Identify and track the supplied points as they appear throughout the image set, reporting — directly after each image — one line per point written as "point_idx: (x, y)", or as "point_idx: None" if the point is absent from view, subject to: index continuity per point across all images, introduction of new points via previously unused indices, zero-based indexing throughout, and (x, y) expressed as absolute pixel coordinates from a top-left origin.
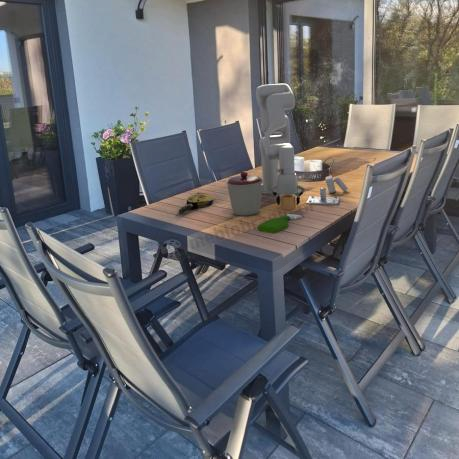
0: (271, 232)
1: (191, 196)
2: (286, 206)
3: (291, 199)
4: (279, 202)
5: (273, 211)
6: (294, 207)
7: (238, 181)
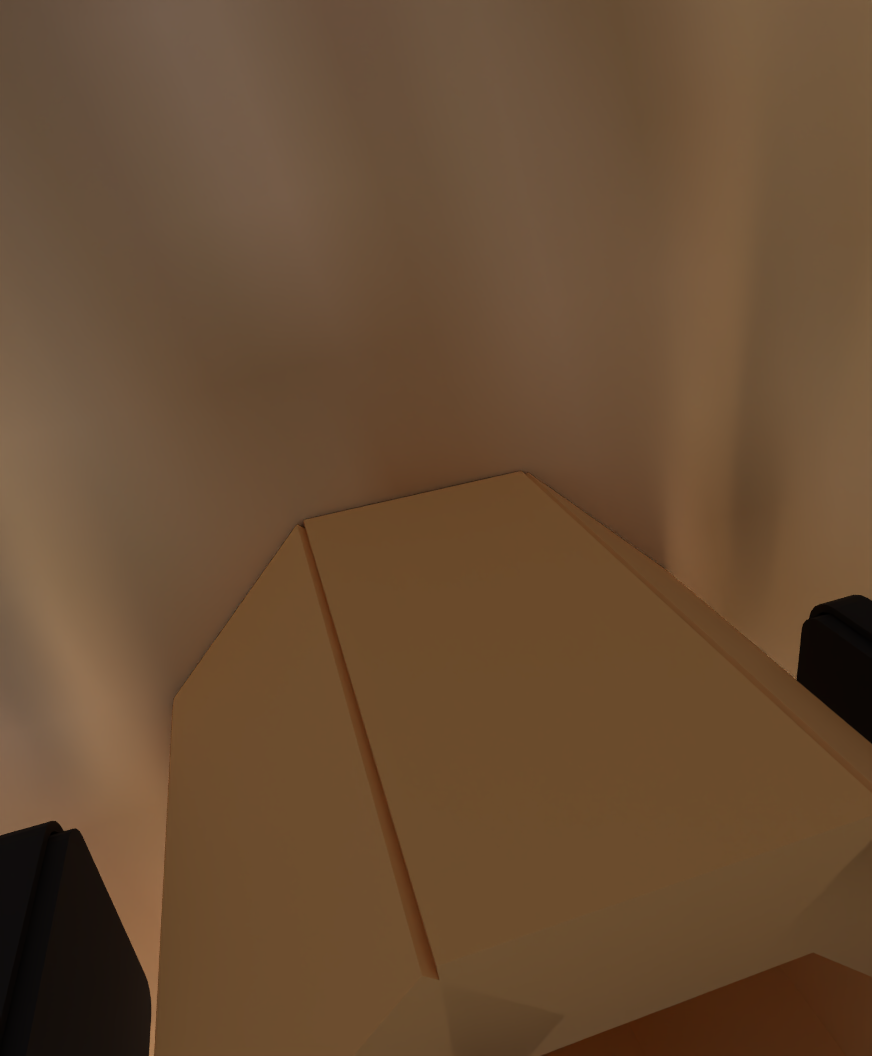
0: None
1: None
2: (468, 541)
3: (283, 944)
4: None
5: (868, 81)
6: (174, 718)
7: None
